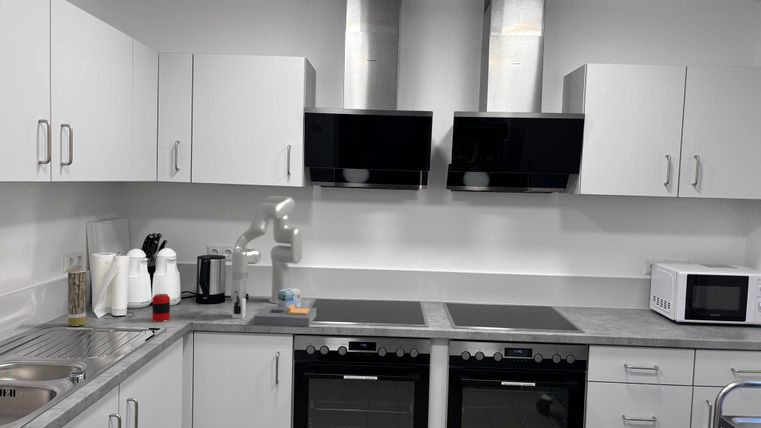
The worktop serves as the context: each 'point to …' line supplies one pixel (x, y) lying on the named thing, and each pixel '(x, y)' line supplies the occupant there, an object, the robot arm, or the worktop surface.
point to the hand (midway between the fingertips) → (239, 312)
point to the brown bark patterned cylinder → (76, 297)
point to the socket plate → (283, 317)
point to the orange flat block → (297, 310)
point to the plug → (243, 309)
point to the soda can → (161, 307)
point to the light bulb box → (289, 297)
